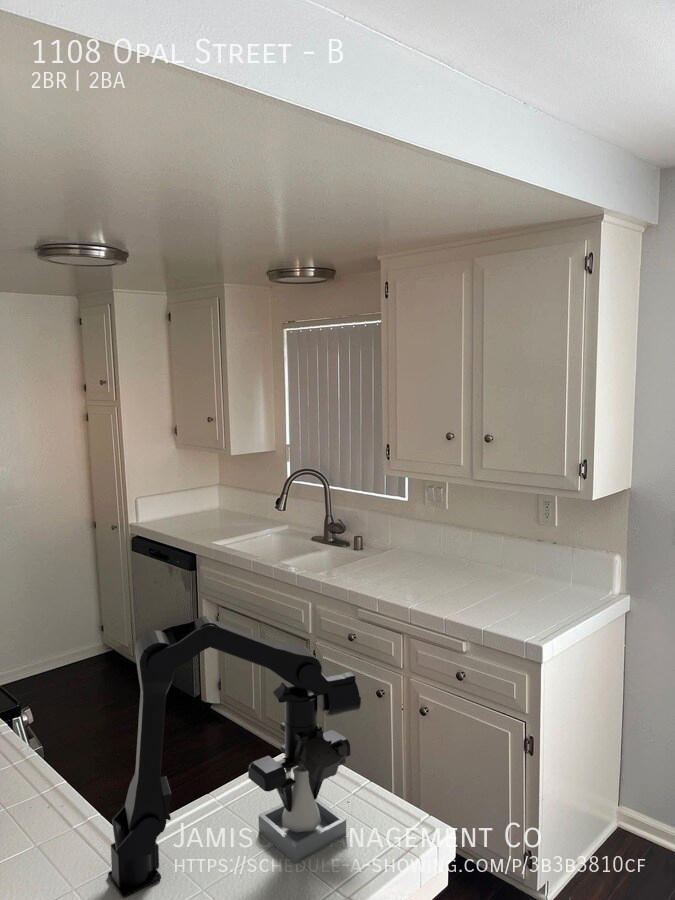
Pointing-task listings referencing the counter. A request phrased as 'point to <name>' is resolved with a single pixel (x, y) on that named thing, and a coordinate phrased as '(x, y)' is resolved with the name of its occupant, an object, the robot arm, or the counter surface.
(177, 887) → the counter surface
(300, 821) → the flask
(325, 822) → the box
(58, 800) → the counter surface
